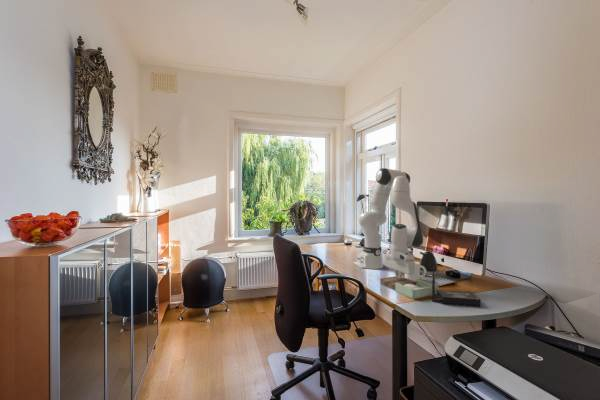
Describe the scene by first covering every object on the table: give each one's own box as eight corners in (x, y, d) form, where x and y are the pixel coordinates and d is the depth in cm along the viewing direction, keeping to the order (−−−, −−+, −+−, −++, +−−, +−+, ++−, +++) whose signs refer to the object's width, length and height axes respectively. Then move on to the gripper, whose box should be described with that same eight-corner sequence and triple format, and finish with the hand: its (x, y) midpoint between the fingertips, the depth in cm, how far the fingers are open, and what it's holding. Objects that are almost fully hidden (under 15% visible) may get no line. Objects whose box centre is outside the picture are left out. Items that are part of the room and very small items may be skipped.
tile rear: (403, 289, 154) (403, 284, 153) (410, 287, 156) (410, 283, 156) (410, 292, 149) (411, 287, 149) (418, 290, 151) (418, 286, 151)
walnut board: (380, 283, 164) (380, 278, 164) (399, 280, 170) (399, 275, 170) (396, 291, 152) (396, 285, 152) (416, 287, 158) (416, 282, 158)
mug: (425, 278, 173) (425, 261, 173) (427, 283, 166) (427, 265, 165) (404, 277, 177) (404, 260, 177) (404, 281, 169) (405, 263, 169)
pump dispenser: (418, 272, 188) (419, 249, 187) (436, 273, 184) (436, 250, 184) (419, 276, 178) (420, 252, 178) (438, 278, 175) (438, 253, 174)
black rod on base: (470, 298, 143) (471, 264, 143) (482, 309, 130) (482, 271, 129) (427, 295, 147) (428, 262, 147) (434, 305, 134) (434, 269, 133)
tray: (395, 291, 152) (395, 282, 152) (417, 287, 158) (418, 279, 158) (413, 299, 140) (413, 290, 140) (437, 294, 147) (437, 285, 147)
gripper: (382, 250, 168) (381, 273, 168) (408, 258, 149) (407, 284, 150) (390, 249, 170) (390, 272, 171) (417, 257, 152) (416, 283, 152)
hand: (398, 278), depth 160 cm, fingers closed
